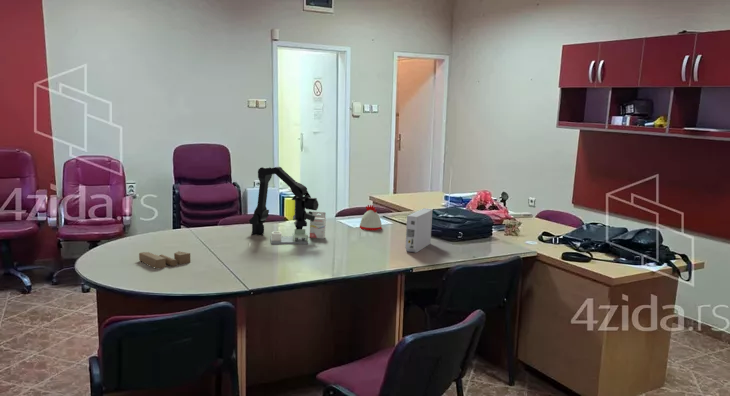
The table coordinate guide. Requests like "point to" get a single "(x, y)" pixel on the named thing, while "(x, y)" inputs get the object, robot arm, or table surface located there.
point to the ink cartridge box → (318, 225)
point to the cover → (300, 234)
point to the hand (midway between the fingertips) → (299, 235)
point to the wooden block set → (164, 259)
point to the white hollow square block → (276, 236)
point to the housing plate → (289, 240)
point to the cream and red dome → (371, 220)
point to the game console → (418, 230)
